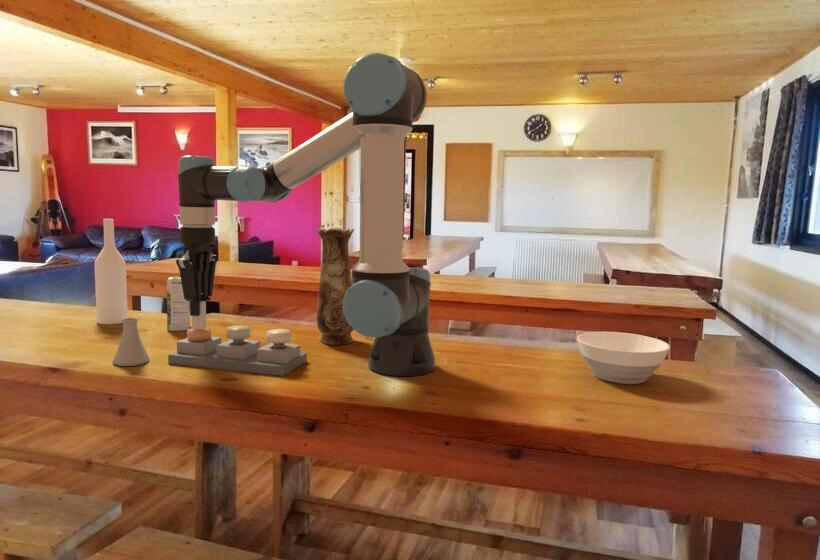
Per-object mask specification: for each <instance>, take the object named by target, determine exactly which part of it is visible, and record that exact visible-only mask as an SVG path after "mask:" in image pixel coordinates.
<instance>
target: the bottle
mask: <svg viewBox="0 0 820 560" xmlns="http://www.w3.org/2000/svg"><path fill="white" fill-rule="evenodd" d="M114 221H115V220H114V218H103V248H102V249H101V250H100V252H99V254H98V255H97V257H96V258H95V260H94V287H95V288H94V289H95V307H96V308H95V313H96V323H97V324H98V325H119V324H123V322H122V321H121V320H122V319H124V318H129V317H128V316H129V315H128V293H127V292H128V291H127V288H128V287H127V286H128V285H127V265H126V261H125V258H124V257H123V255H122V254H121V253H120V251H119V250H118V248H117V247H116V243H115V242H116V241H115V223H114Z"/></svg>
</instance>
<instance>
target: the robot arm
mask: <svg viewBox="0 0 820 560" xmlns="http://www.w3.org/2000/svg"><path fill="white" fill-rule="evenodd" d="M343 80H344V81H343V86H342V87H343V96H344V98H345V101H346V103H347V105H348V106H349V107H350V109H351V110H352V112H350V113H349V114H347V115H346V116H344V117H342V118H341V119H339V120H337V121H336V122H335V123H333V124H331V125H329V126H328V127H327V128H325V129H323V130H322V131H320V132H319V133H317V134H316V135H314V136H312V137H311V138H309V139H307V140H306V141H305V142H304V143H301V144H300V145H298V146H296V147H295V148H294V149H292V150H290V151H288V152H287V153H285V154H284V155H282V156H281V157H279V158H277V159H276V160H275V161H273V162H271V163H270V164H268V165H266V166H265V167H264V168H263V167H262V168H258V167H256V166H251V165H250V166H249V165H243V164H242V165H215V159H214V158H213V157H211V156H203V155H181V157H180V158H179V160H178V168H177V169H178V171H177V180H178V193H179V196H178V201H179V203H178V206H179V224H180V225H181V226H180V228H179V243H180V244H182V245H184V248H183V251H182V254H183V256H182V257H181V258H177V259H176V260H175V263H176V266H177V267H178V271H179V277H181V283H182V288H183V294H184V299H185V300H186V301H190V316H191V329H196V330H204V329H206V328H207V301H211V299H212V296H213V291H214V283H215V282H214V281H215V272H216V267H217V263H218V260H219V255H217V254H213V253H212V246H211V245H214V244H215V243H216V228H215V227H213V226H215V224H216V212H215V211H216V208H215V207H216V206H215V204H216V201H229V202H241V203H250V202H266V203H267V202H268V203H276V202H281V201H284V200H286V199H287V198H288V197H289V196H290V194H291V192H292V190H293V189H295V188H297V187H298V186H300V185H301V184H304V183H305V182H307V181H308V180H311V178H314V177H316V176H317V175H318V174H320V173H322V172H324V171H325V170H327V169H329V168H330V167H332V166H334V165H336V164H337V163H339V162H340V161H342V160H343V159H346V158H347V157H349V156H350V155H352V154H354V153H356V152H357V151H360V152H359V155H360V156H359V157H360V160H359V161H360V162H359V163H360V164H359V166H360V167H359V169H360V171H359V173H360V174H359V259H358V261H357V262H356V263H355V264H354V265H353V266H352V268H351V279H352V285H351V286H350V288H349V289H348V290H347V292H346V293H345V295H344V299H343V313H344V316H345V318H346V320H347V322H348V324H349V325H350V326H351V327H352V328H353V329H354V330H353V331H354V332H356V333H358V334H359V335H360V336H364V337H366V338H372V339H373V338H374V341H373V344H372V346H371V349H370V353H369V356H368V368H369V370H371V371H373V372H375V373H378V374H380V375H381V374H382V375H387V376H395V377H414V376H415V377H416V376H422V375H426V374H430V373H432V372H433V371H435V369H436V357H435V354H434V349H433V346H432V343H431V340H430V335H429V326H430V324H429V323H430V299H431V298H430V296H431V295H430V292H431V285H432V282H431V274H430V272H429V270H428V269H426V268H423V267H421V268H419V267H409V266H408V265H407V264H406V263H405V262H404V261H403V243H404V242H403V236H404V233H403V230H404V182H405V180H404V177H405V173H404V172H405V140H406V137H407V136H408V135H410V133H411V132H412V131H413V123H414V122H415V121H416V120H418V119H419V118H420V117H421V115H422V114H423V112H424V110H425V107H426V105H427V98H428V94H427V88H426V85H425V82H424V81H423V79H422V77H421V76H420V75H419V74H418V73H417V72H416V71H415V70H413V69H411V68H409V67H407V66H406V65H404V64H403V63H402V62H401V61H400V60H398V59H397V58H396V57H394V56H390V55H389V54H386V53H382V52H381V53H380V52H370V53H367V54H365V55H362V56H361V57H359V58H357V59H356V60H355V61H354V63H353V64H351V66H349V68H348V70H347V72H346V73H345V77H344V79H343Z"/></svg>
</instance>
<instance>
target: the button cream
mask: <svg viewBox="0 0 820 560" xmlns="http://www.w3.org/2000/svg"><path fill="white" fill-rule="evenodd" d="M266 341H267V343H274V349H282V350H283V349H285V343H286V344H288V343H289V342H291V341H292V331H291V330H289V329H285V328H277V329H275V328H274V329H270V330H266Z"/></svg>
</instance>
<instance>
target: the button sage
mask: <svg viewBox="0 0 820 560" xmlns="http://www.w3.org/2000/svg"><path fill="white" fill-rule="evenodd" d="M225 329H226V337H225V338H226V339H228V340H231V339H233V345H241V346H242V345H244V340H247V339H250V338H251V327H250V326H248V325H230V326H228V327H226V328H225Z"/></svg>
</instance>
